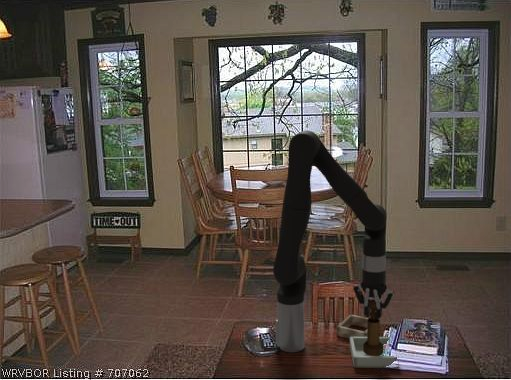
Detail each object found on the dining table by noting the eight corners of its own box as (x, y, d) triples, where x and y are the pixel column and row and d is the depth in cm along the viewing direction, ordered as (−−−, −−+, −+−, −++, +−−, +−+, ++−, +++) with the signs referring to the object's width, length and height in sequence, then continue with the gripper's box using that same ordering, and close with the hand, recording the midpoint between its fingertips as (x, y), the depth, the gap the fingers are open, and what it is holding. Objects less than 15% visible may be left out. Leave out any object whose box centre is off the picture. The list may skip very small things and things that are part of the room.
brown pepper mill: (385, 356, 171) (385, 304, 167) (365, 356, 171) (365, 304, 167) (380, 346, 177) (381, 296, 174) (361, 346, 177) (361, 296, 174)
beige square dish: (337, 335, 190) (337, 326, 189) (350, 322, 200) (350, 314, 199) (366, 342, 184) (366, 333, 183) (377, 329, 194) (378, 320, 193)
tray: (353, 367, 168) (353, 357, 167) (349, 346, 182) (349, 336, 181) (398, 368, 167) (398, 357, 166) (390, 346, 181) (391, 337, 180)
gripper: (348, 267, 169) (348, 317, 172) (391, 274, 162) (390, 326, 165) (357, 260, 175) (357, 308, 179) (399, 267, 168) (397, 317, 171)
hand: (373, 317), depth 172 cm, fingers closed on brown pepper mill, 2 cm apart
